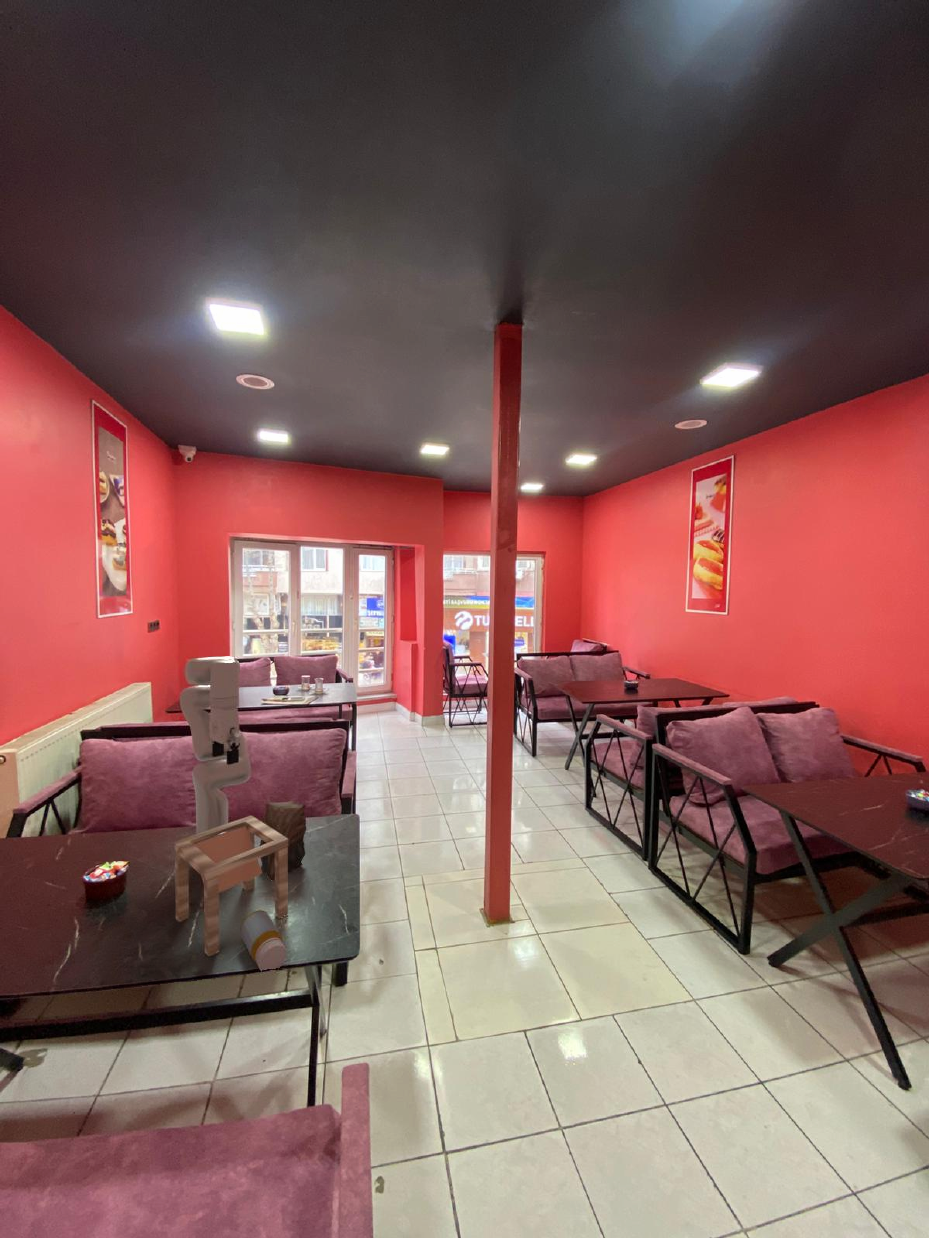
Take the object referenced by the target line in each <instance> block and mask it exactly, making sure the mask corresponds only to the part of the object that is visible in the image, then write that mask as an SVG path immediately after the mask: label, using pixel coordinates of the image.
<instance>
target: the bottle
mask: <svg viewBox="0 0 929 1238" xmlns="http://www.w3.org/2000/svg"><path fill="white" fill-rule="evenodd" d="M245 917H246V918H244V920H243V922H242V924H241V925H240V935H241V937H242V940H243V942H244V944H245V946H246V948H247V950H248V953H249V955H250V957H251V959H252V960H253V961H254V962H255V963H256V965H257V967H258V969H259V970H260V971H261V972H262V970H267V969H276V968H278V969H279V968H280V967H281V966H282V965H283V964H284V962H285V960H286V958H287V949H286V947H285V945H284V943H283V939H282V935H281V934H280V931H279V930H278V929H277V927H276V925H275V923H274V922H273V920H272V917H271V916H270V915H269V913H268V912H267V911H265V910H261V909H259V910H255V911H253V912H251V913H249V915H247V916H245ZM275 971H277V970H270V971H267V972H262V973H264V974H272V973H274V972H275Z"/></svg>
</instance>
